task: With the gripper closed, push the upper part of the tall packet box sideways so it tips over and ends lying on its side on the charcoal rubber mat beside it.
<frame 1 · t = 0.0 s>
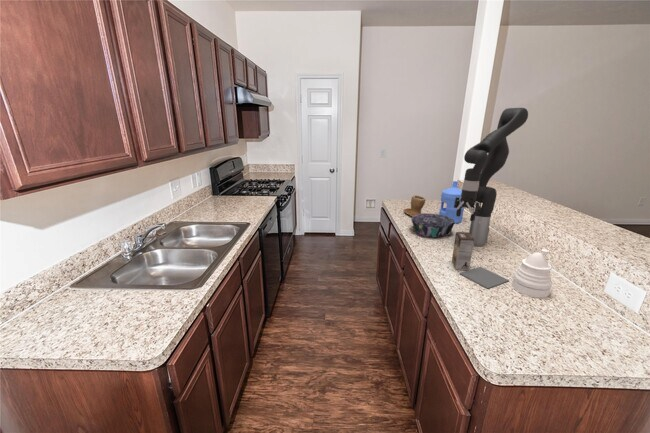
hand: (464, 218, 152), 17 cm above the worktop, tool pointing down, fingers open, 8 cm apart
brown boot: (414, 215, 214), on the worktop
decorative bowl: (431, 232, 181), on the worktop
rubber mat: (483, 277, 126), on the worktop
honey pot: (529, 289, 118), on the worktop
coffee box: (460, 266, 137), on the worktop
water jug: (449, 220, 201), on the worktop
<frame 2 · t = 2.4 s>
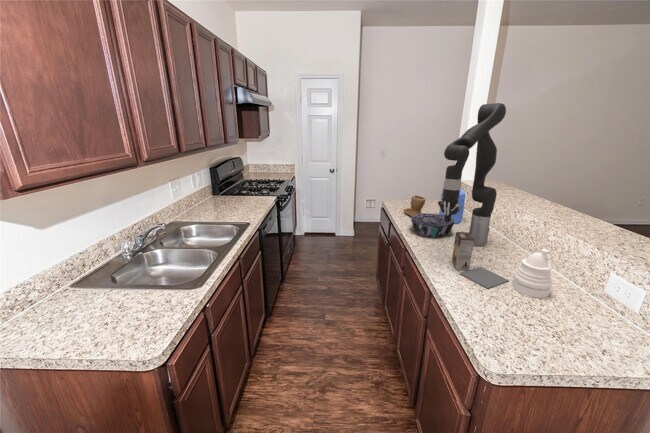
hand: (447, 221, 141), 19 cm above the worktop, tool pointing down, fingers closed
nothing on the worktop moved.
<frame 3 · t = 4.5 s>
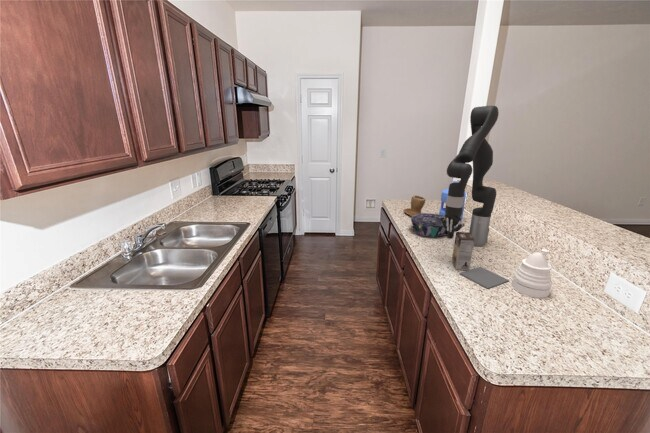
hand: (449, 238, 140), 12 cm above the worktop, tool pointing down, fingers closed
coffee box: (460, 266, 137), on the worktop, touching gripper
everything else where it was.
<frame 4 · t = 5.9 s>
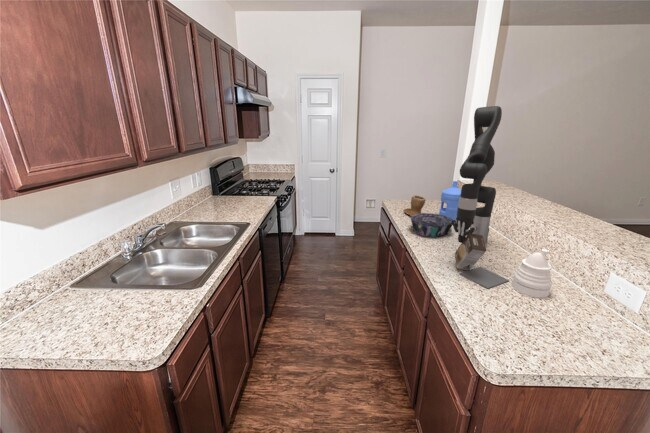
hand: (460, 242, 133), 12 cm above the worktop, tool pointing down, fingers closed
coffee box: (461, 262, 136), point 2 cm above the worktop, touching gripper, hand, rubber mat
everything else where it was.
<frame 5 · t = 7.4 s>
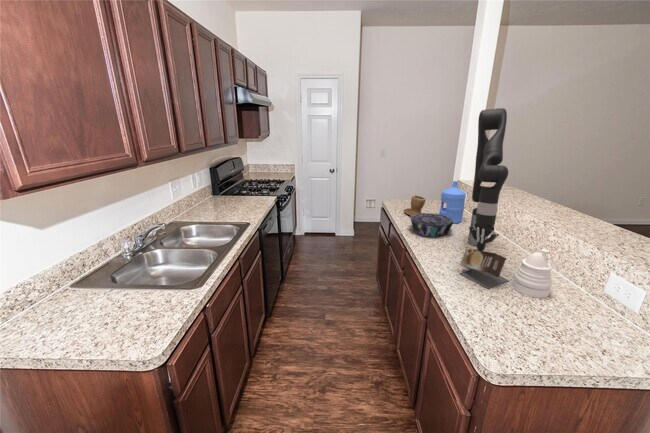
hand: (480, 250, 125), 13 cm above the worktop, tool pointing down, fingers closed
coffee box: (467, 258, 133), point 5 cm above the worktop, touching gripper, rubber mat
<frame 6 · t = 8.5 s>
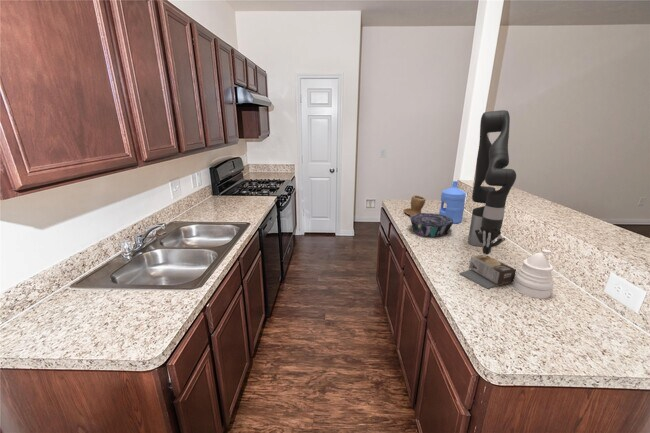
hand: (486, 253, 123), 12 cm above the worktop, tool pointing down, fingers closed
coffee box: (476, 260, 133), point 4 cm above the worktop, touching rubber mat
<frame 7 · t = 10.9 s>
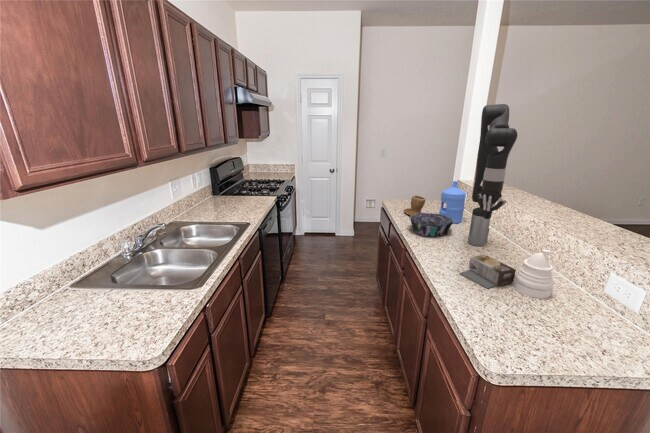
hand: (486, 218, 121), 27 cm above the worktop, tool pointing down, fingers closed
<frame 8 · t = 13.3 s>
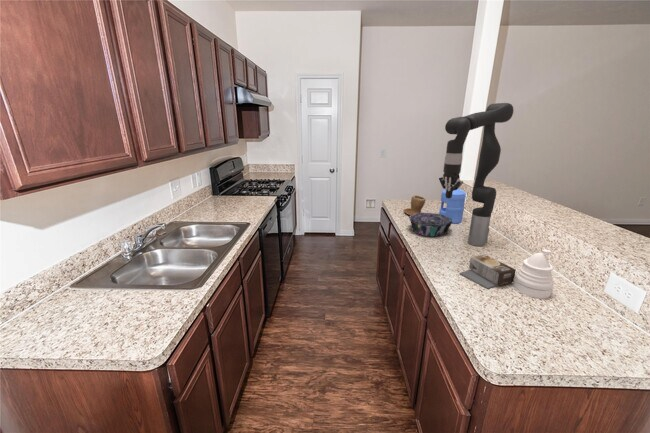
hand: (448, 198, 139), 31 cm above the worktop, tool pointing down, fingers closed
at the end: coffee box tilted 90°; coffee box touching rubber mat; the gripper is holding nothing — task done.
